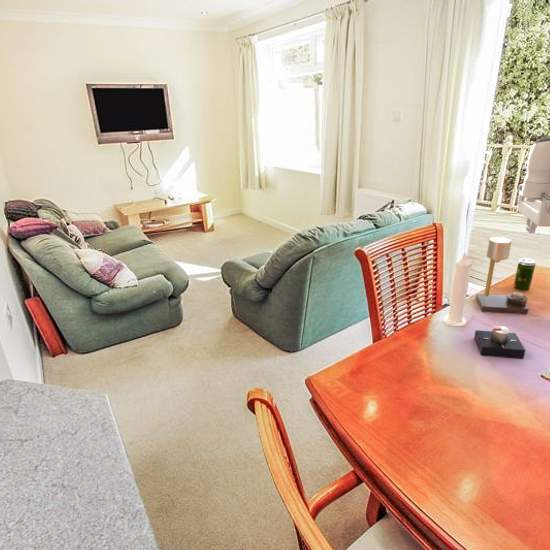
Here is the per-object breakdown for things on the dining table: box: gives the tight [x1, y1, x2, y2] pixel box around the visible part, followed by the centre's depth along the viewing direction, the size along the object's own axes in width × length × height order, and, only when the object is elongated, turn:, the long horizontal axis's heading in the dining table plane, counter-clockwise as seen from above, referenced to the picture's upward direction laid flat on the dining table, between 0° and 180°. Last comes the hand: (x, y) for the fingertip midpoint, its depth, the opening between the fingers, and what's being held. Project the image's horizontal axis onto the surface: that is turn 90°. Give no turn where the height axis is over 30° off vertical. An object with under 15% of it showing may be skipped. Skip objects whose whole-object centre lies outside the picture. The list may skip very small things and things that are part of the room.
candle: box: [443, 252, 472, 328], centre depth 121 cm, size 7×7×25 cm
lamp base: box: [475, 292, 529, 315], centre depth 133 cm, size 15×10×4 cm
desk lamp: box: [483, 236, 512, 297], centre depth 129 cm, size 6×6×21 cm
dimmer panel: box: [473, 329, 526, 360], centre depth 111 cm, size 11×9×3 cm
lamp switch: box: [512, 291, 524, 300], centre depth 131 cm, size 3×3×2 cm
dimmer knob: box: [491, 325, 511, 344], centre depth 110 cm, size 4×4×4 cm
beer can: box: [512, 257, 536, 293], centre depth 142 cm, size 5×5×12 cm
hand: (530, 231), depth 124 cm, fingers closed
